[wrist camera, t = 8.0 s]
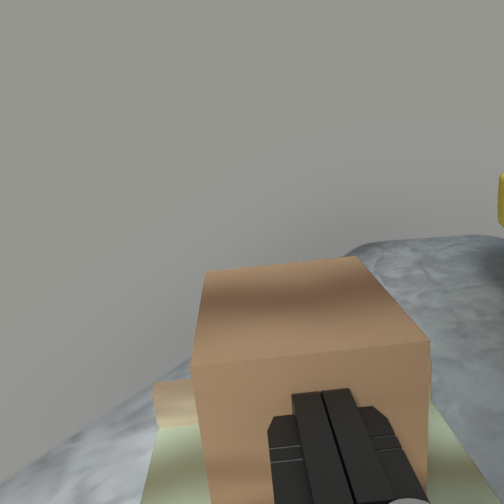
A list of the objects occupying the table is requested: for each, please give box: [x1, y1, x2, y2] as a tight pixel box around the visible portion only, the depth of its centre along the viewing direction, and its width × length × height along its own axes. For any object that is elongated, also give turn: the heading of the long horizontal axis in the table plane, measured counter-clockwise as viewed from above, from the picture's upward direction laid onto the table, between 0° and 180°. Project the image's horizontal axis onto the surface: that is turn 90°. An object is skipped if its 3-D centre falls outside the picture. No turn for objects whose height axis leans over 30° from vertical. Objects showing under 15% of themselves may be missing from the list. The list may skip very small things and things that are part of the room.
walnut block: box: [190, 256, 430, 504], centre depth 16 cm, size 7×6×8 cm
